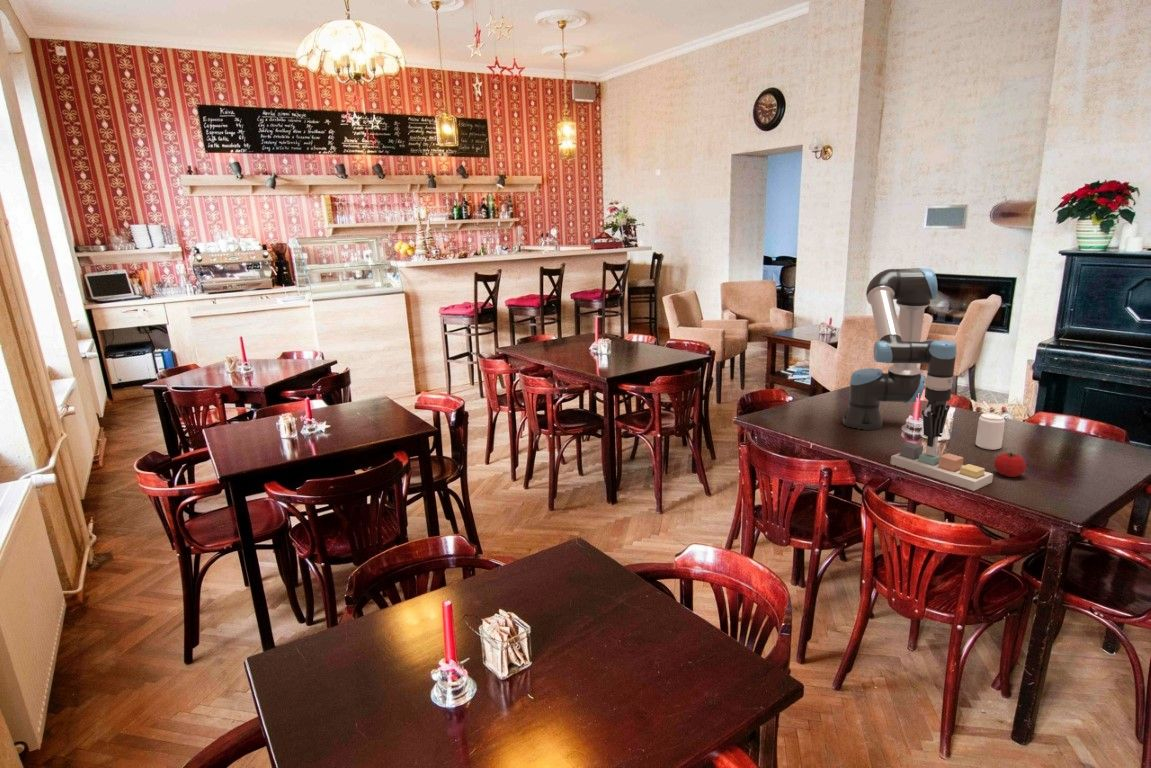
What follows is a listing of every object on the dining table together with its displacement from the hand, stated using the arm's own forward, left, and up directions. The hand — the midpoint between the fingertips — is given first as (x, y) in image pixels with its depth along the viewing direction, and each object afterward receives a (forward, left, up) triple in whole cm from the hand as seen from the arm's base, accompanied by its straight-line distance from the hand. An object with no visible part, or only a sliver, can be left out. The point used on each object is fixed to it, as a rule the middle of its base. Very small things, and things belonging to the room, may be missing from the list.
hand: (930, 454), depth 214 cm
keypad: (+4, 0, -6) cm, 7 cm away
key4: (+14, 0, -5) cm, 14 cm away
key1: (-7, 0, -3) cm, 7 cm away
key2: (0, 0, -5) cm, 5 cm away
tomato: (+18, +16, -6) cm, 24 cm away
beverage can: (+1, +38, -6) cm, 38 cm away
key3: (+7, 0, -3) cm, 8 cm away
